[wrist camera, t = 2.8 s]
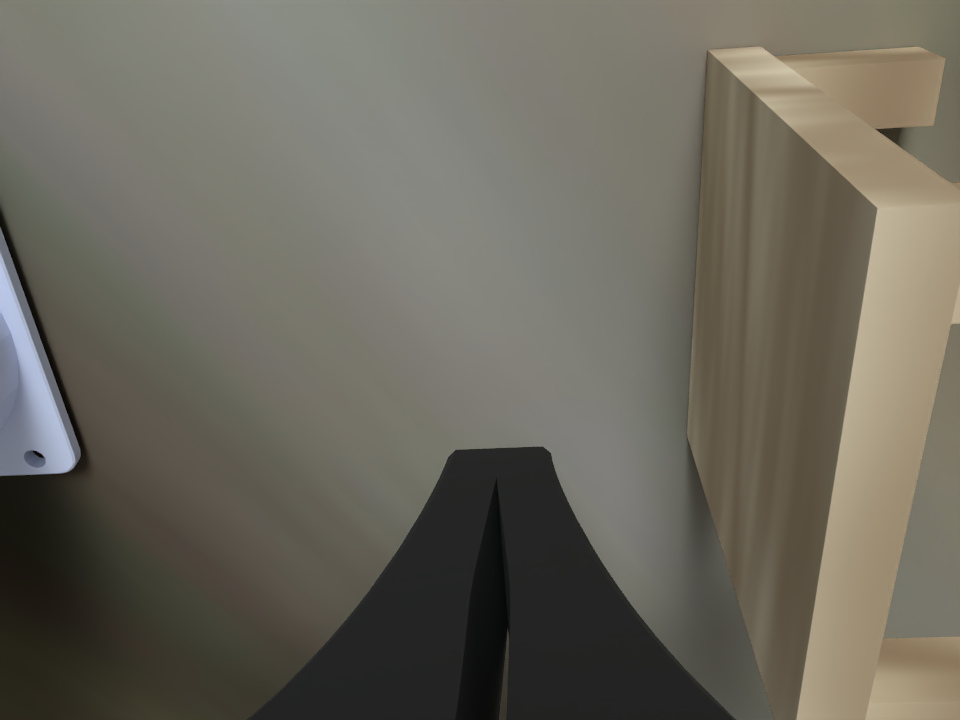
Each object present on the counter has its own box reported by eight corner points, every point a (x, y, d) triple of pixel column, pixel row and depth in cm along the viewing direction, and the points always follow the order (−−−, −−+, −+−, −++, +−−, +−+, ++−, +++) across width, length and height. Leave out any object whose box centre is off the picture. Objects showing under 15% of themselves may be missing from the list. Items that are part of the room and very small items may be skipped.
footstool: (686, 435, 21) (789, 765, 13) (708, 50, 17) (877, 208, 9) (854, 428, 21) (1058, 761, 13) (920, 35, 17) (1284, 186, 9)
